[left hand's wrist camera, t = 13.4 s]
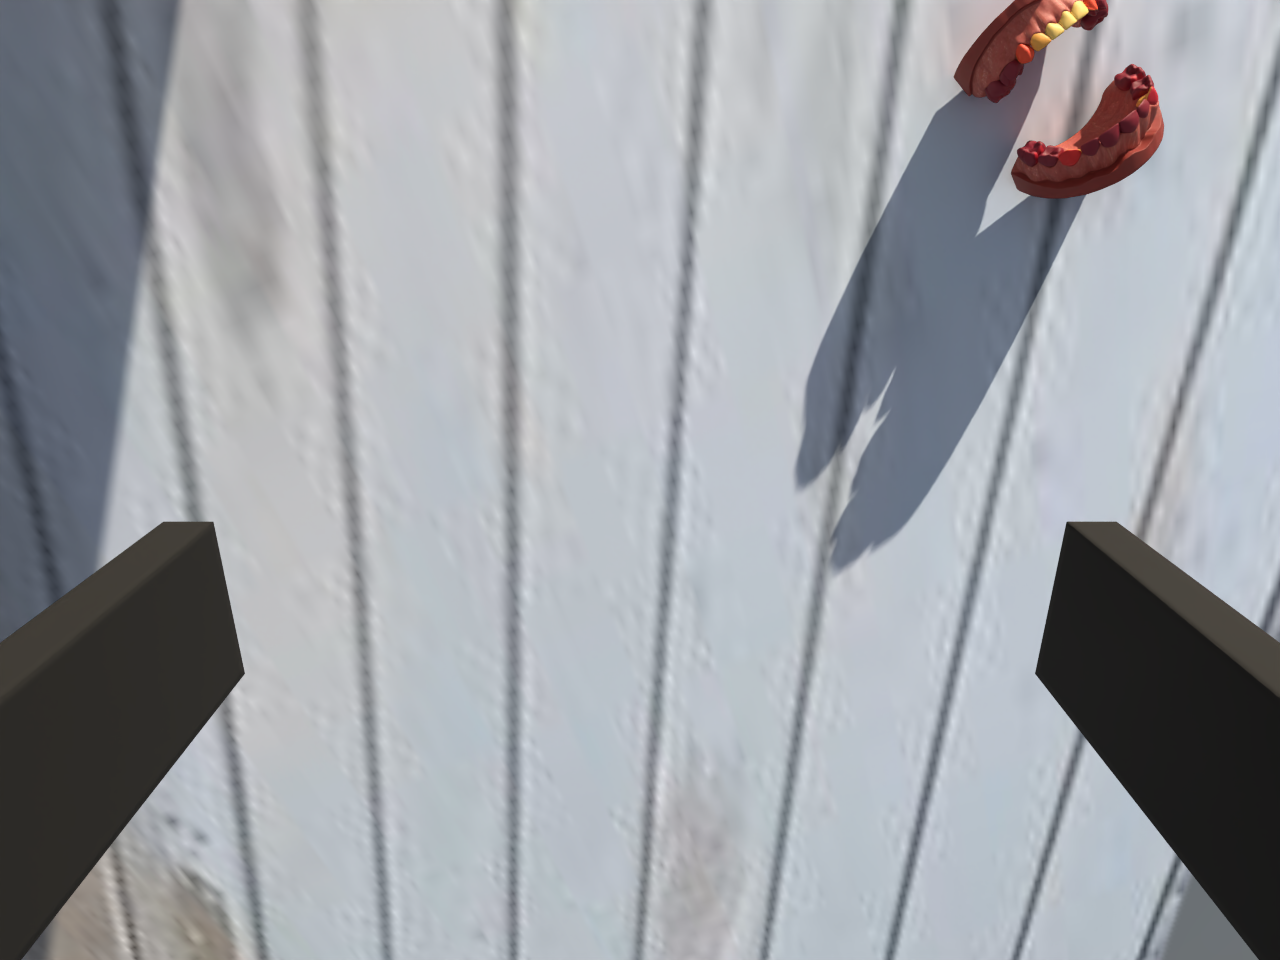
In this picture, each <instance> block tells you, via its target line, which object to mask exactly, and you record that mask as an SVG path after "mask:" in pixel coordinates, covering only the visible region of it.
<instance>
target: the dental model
mask: <svg viewBox="0 0 1280 960" xmlns="http://www.w3.org/2000/svg"><path fill="white" fill-rule="evenodd" d="M1107 15H1108V4H1107V2H1106V0H1015V1H1014V2H1013V3H1012V4H1011V5H1010V6H1009V7H1007V8H1006V9H1005V10H1004V11H1003V12H1002V13H1001V14H1000V15H999V16H998V17H997V18H996V19H995V20H994V21H993V22H992V23H991V24H990V25H989V26H988V27H987V28H986V29H985V31H984V32H983V33H982V34H981V35H980V36H979V37H978V39H977V40H976V41H975V42H974V44H973V45H972V46H971V48H970V49H969V50H968V52H967V53H966V54H965V56H964V57H963V59H962V61H961V62H960V64H959V66H958V68H957V70H956V72H955V75H954V78H955V80H956V81H957V82H958V84H959V85H960V86H961V87H962V89H963V90H964V91H965V92H966V94H967V95H968V96H970V95H974V96H975V97H979V98H980V97H985V96H987V97H988V99H989V100H990V101H992V102H994V103H998V101H999V100H1000V99H1001V98H1003V97H1005V96H1007V95H1008V94H1009V93H1010V91H1011V90H1012V89H1013V88H1014V86H1015V84H1016V78H1017V76H1018V75H1021V74H1022V72H1023V67H1024V64H1025V63H1028V62H1031V61H1032V59H1033V57H1034V50H1036V51H1040V50H1041V49H1043V48H1044V47H1045V46H1047V45H1048V44H1049V43H1050V42H1051V40H1054V39H1055V38H1056V37H1058V36H1059V35H1060V34H1062V33H1063V32H1064V29H1065V30H1067V29H1068V28H1069V27H1071V26H1072V27H1082V28H1083V29H1085V30H1092V29H1093V28H1094V26H1095V25H1097V24H1098V23H1100V22H1102V21H1103V19H1104V18H1105V17H1107ZM1058 23H1059V24H1060V25H1061V26H1062V27H1063V28H1064V29H1063V28H1062V27H1061V26H1060V25H1059V24H1058ZM1045 33H1046V34H1045ZM1030 46H1032V47H1030ZM1163 132H1164V123H1163V119H1162V114H1161V111H1160V108H1159V101H1158V95H1157V92H1156V90H1155V88H1154V83H1153V81H1152V79H1151V77H1150V75H1147V76H1146V74H1145V72H1144V71H1143V70H1142V68H1141V67H1137V66H1136V65H1134V64H1131V65H1129V66H1128V67H1126V69H1125V70H1124V71H1123V72H1122V73H1120V74H1117V75H1116V76H1115V78H1114V81H1113V82H1112V83H1111V84H1110V85H1109V86H1108V87H1107V88H1106V90H1105V91H1104V93H1103V95H1102V99H1101V102H1100V104H1099V106H1098V108H1097V110H1096V111H1095V113H1094V115H1093V116H1092V118H1091V119H1090V120H1089V121H1088V123H1087V124H1086V125H1085V126H1084V127H1083V128H1082V129H1081V130H1080V131H1079V132H1078V133H1076V134H1075V135H1074V136H1072V137H1071V138H1070V139H1068V140H1067V141H1065V142H1063V143H1061V144H1059V145H1057V146H1051V145H1050V146H1047V147H1046V146H1045V145H1044V143H1042V142H1040V141H1038V142H1036V141H1028V142H1027V143H1026V145H1025V146H1024V147H1022V148H1019V149H1018V150H1017V154H1018V158H1017V160H1016V162H1015V164H1014V166H1013V169H1012V171H1011V175H1012V177H1013V180H1014V183H1015V185H1016V188H1017V189H1018V190H1019V191H1021V192H1024V193H1026V194H1029V195H1032V196H1035V197H1041V198H1069V197H1075V196H1081V195H1086V194H1089V193H1092V192H1095V191H1098V190H1101V189H1103V188H1106V187H1108V186H1110V185H1113V184H1115V183H1117V182H1119V181H1121V180H1122V179H1124V178H1126V177H1127V176H1129V175H1131V174H1132V173H1134V172H1135V171H1136V170H1138V169H1139V168H1140V167H1141V166H1142V165H1144V164H1145V163H1146V162H1147V161H1148V160H1149V159H1150V158H1151V156H1152V155H1153V154H1154V152H1155V151H1156V150H1157V148H1158V147H1159V145H1160V143H1161V141H1162V138H1163Z"/></svg>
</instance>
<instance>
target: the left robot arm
mask: <svg viewBox="0 0 1280 960" xmlns="http://www.w3.org/2000/svg"><path fill="white" fill-rule="evenodd" d="M244 674H245V672H244V667H243V663H242V658H241V653H240V648H239V643H238V639H237V634H236V629H235V624H234V619H233V614H232V610H231V605H230V600H229V595H228V590H227V585H226V581H225V576H224V571H223V566H222V561H221V557H220V552H219V547H218V542H217V537H216V532H215V528H214V523H213V522H163V523H161V524H160V525H159V526H157V527H156V528H154V529H153V530H152V531H150V532H149V533H148V534H146V535H145V536H144V537H142V538H141V539H140V540H138V541H137V542H136V543H134V544H133V545H132V546H130V547H129V548H128V549H126V550H125V551H123V552H122V553H121V554H119V555H118V556H117V557H115V558H114V559H113V560H111V561H110V562H109V563H107V564H106V565H105V566H103V567H102V568H101V569H99V570H98V571H97V572H95V573H94V574H92V575H91V576H90V577H88V578H87V579H86V580H84V581H83V582H82V583H80V584H79V585H78V586H76V587H75V588H74V589H72V590H71V591H70V592H68V593H67V594H66V595H64V596H63V597H61V598H60V599H59V600H57V601H56V602H55V603H53V604H52V605H51V606H49V607H48V608H47V609H45V610H44V611H43V612H41V613H40V614H39V615H37V616H36V617H35V618H33V619H32V620H31V621H29V622H28V623H26V624H25V625H24V626H22V627H21V628H20V629H18V630H17V631H16V632H14V633H13V634H12V635H10V636H9V637H8V638H6V639H5V640H4V641H2V642H1V643H0V960H21V959H22V958H23V957H24V955H25V954H26V953H27V952H28V950H29V949H30V948H31V946H32V945H33V944H34V943H35V941H36V940H37V939H38V937H39V936H40V935H41V934H42V932H43V931H44V930H45V929H46V927H47V926H48V925H49V923H50V922H51V921H52V920H53V918H54V917H55V916H56V914H57V913H58V912H59V911H60V909H61V908H62V907H63V905H64V904H65V903H66V902H67V900H68V899H69V898H70V897H71V895H72V894H73V893H74V891H75V890H76V889H77V888H78V886H79V885H80V884H81V882H82V881H83V880H84V879H85V877H86V876H87V875H88V874H89V872H90V871H91V870H92V868H93V867H94V866H95V865H96V863H97V862H98V861H99V859H100V858H101V857H102V856H103V854H104V853H105V852H106V851H107V849H108V848H109V847H110V845H111V844H112V843H113V842H114V840H115V839H116V838H117V836H118V835H119V834H120V833H121V831H122V830H123V829H124V827H125V826H126V825H127V824H128V822H129V821H130V820H131V819H132V817H133V816H134V815H135V813H136V812H137V811H138V810H139V808H140V807H141V806H142V804H143V803H144V802H145V801H146V799H147V798H148V797H149V796H150V794H151V793H152V792H153V790H154V789H155V788H156V787H157V785H158V784H159V783H160V781H161V780H162V779H163V778H164V776H165V775H166V774H167V772H168V771H169V770H170V769H171V767H172V766H173V765H174V764H175V762H176V761H177V760H178V758H179V757H180V756H181V755H182V753H183V752H184V751H185V749H186V748H187V747H188V746H189V744H190V743H191V742H192V741H193V739H194V738H195V737H196V735H197V734H198V733H199V732H200V730H201V729H202V728H203V726H204V725H205V724H206V723H207V721H208V720H209V719H210V717H211V716H212V715H213V714H214V712H215V711H216V710H217V709H218V707H219V706H220V705H221V703H222V702H223V701H224V700H225V698H226V697H227V696H228V694H229V693H230V692H231V691H232V689H233V688H234V687H235V686H236V684H237V683H238V682H239V680H240V679H241V678H242V677H243V675H244ZM1035 674H1036V675H1037V677H1038V678H1039V679H1040V680H1041V682H1042V683H1043V684H1044V686H1045V687H1046V688H1047V689H1048V691H1049V692H1050V693H1051V694H1052V696H1053V697H1054V698H1055V700H1056V701H1057V702H1058V703H1059V705H1060V706H1061V707H1062V709H1063V710H1064V711H1065V712H1066V714H1067V715H1068V716H1069V717H1070V719H1071V720H1072V721H1073V723H1074V724H1075V725H1076V726H1077V728H1078V729H1079V730H1080V732H1081V733H1082V734H1083V735H1084V737H1085V738H1086V739H1087V741H1088V742H1089V743H1090V744H1091V746H1092V747H1093V748H1094V749H1095V751H1096V752H1097V753H1098V755H1099V756H1100V757H1101V758H1102V760H1103V761H1104V762H1105V764H1106V765H1107V766H1108V767H1109V769H1110V770H1111V771H1112V772H1113V774H1114V775H1115V776H1116V778H1117V779H1118V780H1119V781H1120V783H1121V784H1122V785H1123V787H1124V788H1125V789H1126V790H1127V792H1128V793H1129V794H1130V796H1131V797H1132V798H1133V799H1134V801H1135V802H1136V803H1137V804H1138V806H1139V807H1140V808H1141V810H1142V811H1143V812H1144V813H1145V815H1146V816H1147V817H1148V819H1149V820H1150V821H1151V822H1152V824H1153V825H1154V826H1155V827H1156V829H1157V830H1158V831H1159V833H1160V834H1161V835H1162V836H1163V838H1164V839H1165V840H1166V842H1167V843H1168V844H1169V845H1170V847H1171V848H1172V849H1173V851H1174V852H1175V853H1176V854H1177V856H1178V857H1179V858H1180V859H1181V861H1182V862H1183V863H1184V865H1185V866H1186V867H1187V868H1188V870H1189V871H1190V872H1191V874H1192V875H1193V876H1194V877H1195V879H1196V880H1197V881H1198V882H1199V884H1200V885H1201V886H1202V888H1203V889H1204V890H1205V891H1206V893H1207V894H1208V895H1209V897H1210V898H1211V899H1212V900H1213V902H1214V903H1215V904H1216V906H1217V907H1218V908H1219V909H1220V911H1221V912H1222V913H1223V914H1224V916H1225V917H1226V918H1227V920H1228V921H1229V922H1230V923H1231V925H1232V926H1233V927H1234V929H1235V930H1236V931H1237V932H1238V934H1239V935H1240V936H1241V937H1242V939H1243V940H1244V941H1245V943H1246V944H1247V945H1248V946H1249V948H1250V949H1251V950H1252V951H1253V953H1254V954H1255V955H1256V957H1257V958H1258V959H1259V960H1280V643H1279V642H1278V641H1276V640H1275V639H1274V638H1272V637H1271V636H1270V635H1268V634H1267V633H1266V632H1264V631H1263V630H1262V629H1260V628H1259V627H1258V626H1256V625H1255V624H1254V623H1252V622H1251V621H1249V620H1248V619H1247V618H1245V617H1244V616H1243V615H1241V614H1240V613H1239V612H1237V611H1236V610H1235V609H1233V608H1232V607H1231V606H1229V605H1228V604H1227V603H1225V602H1224V601H1223V600H1221V599H1220V598H1219V597H1217V596H1216V595H1214V594H1213V593H1212V592H1210V591H1209V590H1208V589H1206V588H1205V587H1204V586H1202V585H1201V584H1200V583H1198V582H1197V581H1196V580H1194V579H1193V578H1192V577H1190V576H1189V575H1188V574H1186V573H1185V572H1183V571H1182V570H1181V569H1179V568H1178V567H1177V566H1175V565H1174V564H1173V563H1171V562H1170V561H1169V560H1167V559H1166V558H1165V557H1163V556H1162V555H1161V554H1159V553H1158V552H1157V551H1155V550H1154V549H1152V548H1151V547H1150V546H1148V545H1147V544H1146V543H1144V542H1143V541H1142V540H1140V539H1139V538H1138V537H1136V536H1135V535H1134V534H1132V533H1131V532H1130V531H1128V530H1127V529H1126V528H1124V527H1123V526H1121V525H1120V524H1119V523H1117V522H1067V523H1066V528H1065V532H1064V537H1063V542H1062V547H1061V552H1060V557H1059V561H1058V566H1057V571H1056V576H1055V581H1054V585H1053V590H1052V595H1051V600H1050V605H1049V610H1048V614H1047V619H1046V624H1045V629H1044V634H1043V639H1042V643H1041V648H1040V653H1039V658H1038V663H1037V667H1036V672H1035Z"/></svg>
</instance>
